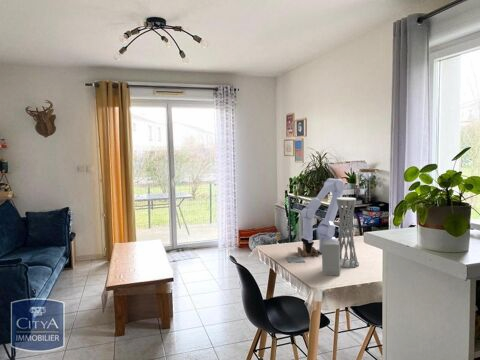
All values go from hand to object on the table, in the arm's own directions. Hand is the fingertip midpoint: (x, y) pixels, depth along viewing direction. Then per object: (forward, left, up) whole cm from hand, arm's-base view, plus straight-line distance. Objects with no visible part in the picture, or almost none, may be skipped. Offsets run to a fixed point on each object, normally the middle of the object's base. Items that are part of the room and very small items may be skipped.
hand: (307, 252), depth 205 cm
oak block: (0, 0, -1) cm, 1 cm away
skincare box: (-4, +33, -2) cm, 33 cm away
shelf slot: (0, 0, -1) cm, 1 cm away
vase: (-16, +19, -2) cm, 25 cm away
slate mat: (+9, +10, -1) cm, 14 cm away
